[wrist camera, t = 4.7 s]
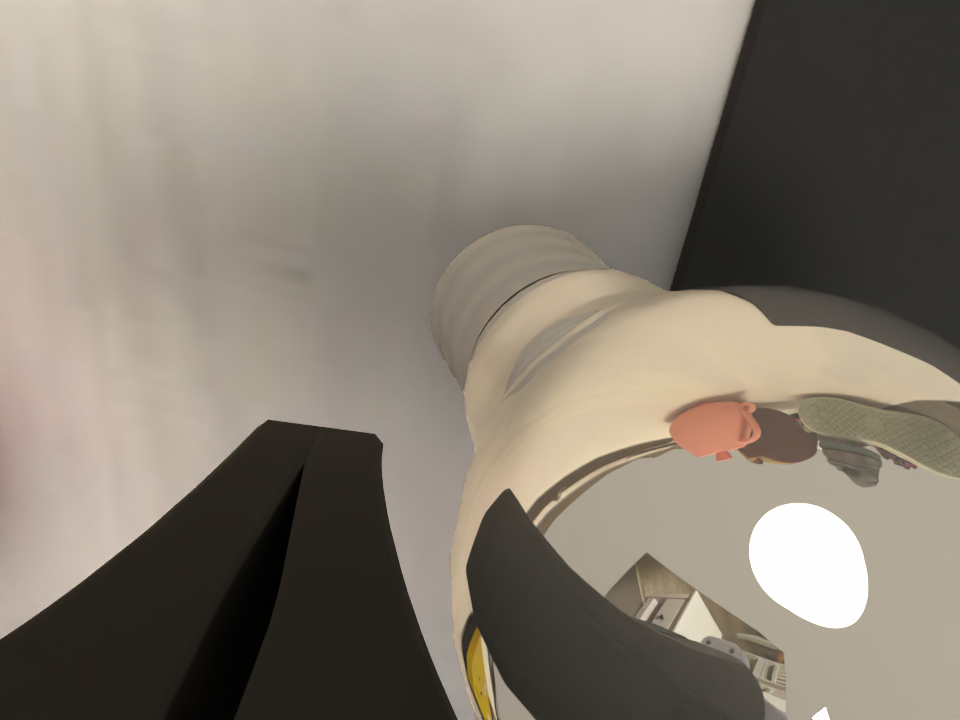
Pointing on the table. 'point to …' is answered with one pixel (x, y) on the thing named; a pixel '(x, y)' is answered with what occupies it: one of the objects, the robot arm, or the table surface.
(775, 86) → the mat
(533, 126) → the table surface
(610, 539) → the light bulb
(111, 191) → the table surface
